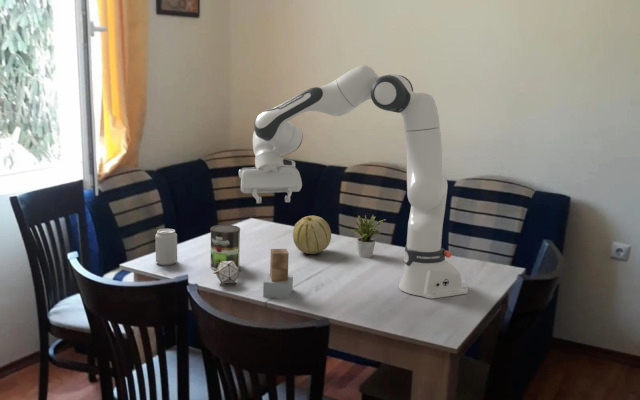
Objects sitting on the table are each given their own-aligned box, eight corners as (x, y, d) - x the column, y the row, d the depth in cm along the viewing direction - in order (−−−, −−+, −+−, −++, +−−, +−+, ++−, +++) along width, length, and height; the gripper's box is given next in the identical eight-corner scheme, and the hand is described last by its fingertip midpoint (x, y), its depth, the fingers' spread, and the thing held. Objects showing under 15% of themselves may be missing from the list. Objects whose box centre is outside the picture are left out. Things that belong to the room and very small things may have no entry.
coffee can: (232, 273, 219) (232, 233, 216) (205, 269, 222) (205, 230, 219) (244, 264, 229) (245, 226, 226) (218, 260, 232) (218, 223, 229)
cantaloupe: (332, 248, 252) (333, 211, 248) (328, 260, 237) (330, 221, 234) (294, 246, 253) (296, 209, 250) (289, 257, 239) (290, 218, 235)
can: (151, 264, 225) (151, 231, 222) (162, 258, 232) (161, 226, 229) (171, 267, 223) (171, 234, 220) (181, 260, 230) (180, 228, 227)
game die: (230, 296, 209) (234, 278, 201) (207, 284, 209) (210, 267, 202) (243, 276, 215) (247, 259, 207) (220, 265, 215) (223, 247, 208)
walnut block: (285, 275, 204) (286, 248, 203) (287, 280, 200) (288, 253, 198) (270, 276, 203) (270, 248, 202) (271, 281, 199) (272, 253, 197)
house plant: (383, 263, 235) (386, 220, 232) (346, 260, 237) (348, 218, 234) (385, 252, 249) (388, 211, 246) (350, 249, 251) (352, 209, 248)
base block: (292, 290, 206) (292, 275, 205) (288, 299, 198) (289, 284, 197) (267, 288, 207) (268, 273, 206) (263, 297, 199) (263, 282, 198)
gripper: (238, 162, 210) (242, 197, 203) (299, 161, 215) (305, 195, 208) (237, 173, 216) (240, 208, 208) (296, 172, 220) (302, 205, 213)
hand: (273, 201), depth 208 cm, fingers open, 8 cm apart
